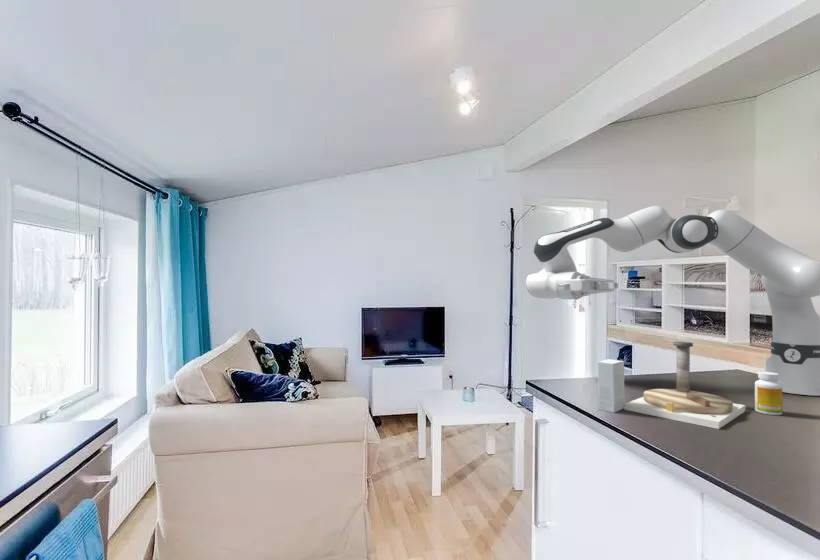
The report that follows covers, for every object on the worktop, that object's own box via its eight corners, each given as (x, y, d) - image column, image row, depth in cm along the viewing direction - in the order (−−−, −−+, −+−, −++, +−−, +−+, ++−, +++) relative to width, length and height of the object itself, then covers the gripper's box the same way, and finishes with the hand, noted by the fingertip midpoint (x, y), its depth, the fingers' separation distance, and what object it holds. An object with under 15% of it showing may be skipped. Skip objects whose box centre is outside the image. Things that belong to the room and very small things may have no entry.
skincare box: (607, 405, 118) (608, 358, 118) (624, 408, 115) (625, 360, 115) (597, 409, 114) (597, 361, 114) (614, 413, 110) (614, 363, 111)
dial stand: (658, 396, 128) (658, 383, 128) (745, 411, 113) (745, 397, 113) (624, 409, 114) (624, 395, 114) (718, 428, 99) (718, 412, 99)
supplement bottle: (787, 416, 109) (787, 375, 109) (762, 414, 110) (762, 374, 110) (774, 410, 115) (774, 371, 115) (750, 409, 116) (750, 370, 116)
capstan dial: (660, 391, 128) (660, 339, 128) (742, 404, 113) (742, 346, 114) (630, 402, 115) (631, 345, 115) (719, 418, 101) (719, 353, 101)
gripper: (555, 274, 139) (599, 274, 129) (587, 276, 153) (630, 275, 142) (554, 295, 139) (599, 296, 128) (587, 295, 152) (630, 296, 142)
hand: (615, 285), depth 135 cm, fingers closed
